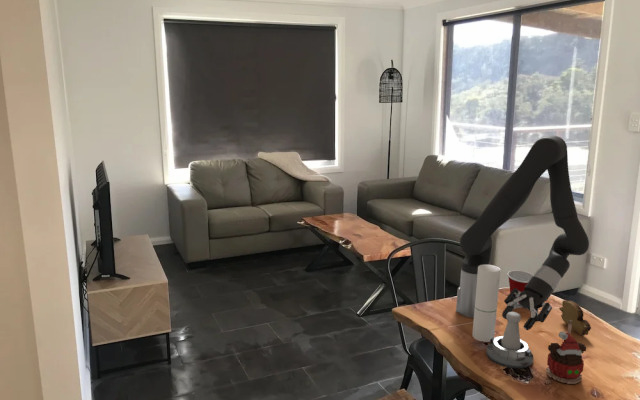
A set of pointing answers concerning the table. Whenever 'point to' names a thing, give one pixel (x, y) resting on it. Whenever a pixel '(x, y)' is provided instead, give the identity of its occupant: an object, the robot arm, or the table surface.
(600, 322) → the table surface
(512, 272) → the plastic cup
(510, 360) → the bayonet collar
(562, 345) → the cake
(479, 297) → the cylindrical container
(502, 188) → the robot arm
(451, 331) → the table surface
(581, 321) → the wooden carving
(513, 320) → the salt shaker
